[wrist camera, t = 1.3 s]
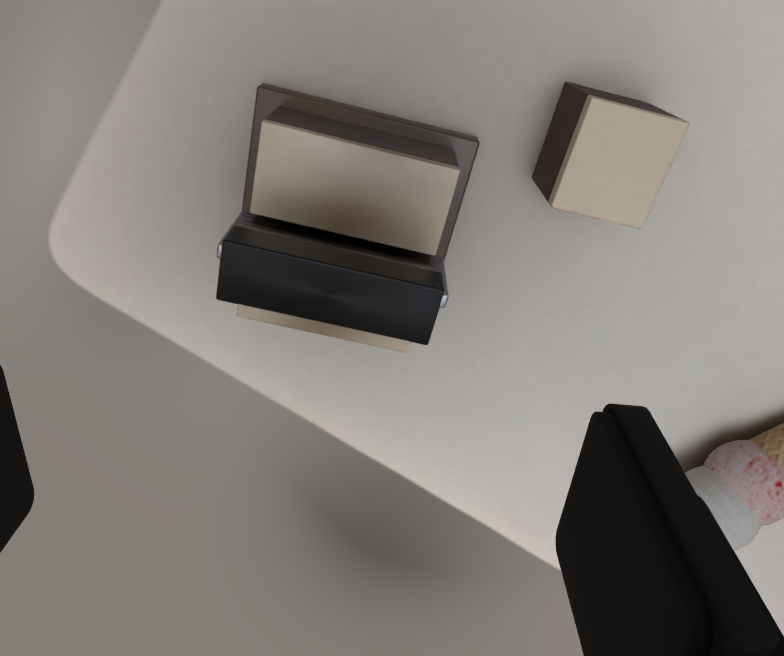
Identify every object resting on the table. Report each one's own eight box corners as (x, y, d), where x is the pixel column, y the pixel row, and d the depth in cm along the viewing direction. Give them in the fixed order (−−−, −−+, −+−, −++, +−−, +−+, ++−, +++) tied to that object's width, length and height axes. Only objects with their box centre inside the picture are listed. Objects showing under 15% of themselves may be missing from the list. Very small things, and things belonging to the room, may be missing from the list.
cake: (236, 281, 32) (212, 323, 28) (262, 82, 27) (237, 98, 23) (422, 322, 33) (424, 368, 29) (478, 137, 28) (489, 161, 24)
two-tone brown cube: (531, 177, 29) (550, 207, 25) (565, 81, 27) (592, 97, 23) (610, 197, 30) (641, 229, 26) (650, 103, 28) (690, 123, 24)
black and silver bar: (238, 241, 27) (201, 296, 22) (244, 189, 26) (207, 236, 21) (434, 286, 28) (440, 349, 23) (449, 237, 27) (458, 293, 22)
